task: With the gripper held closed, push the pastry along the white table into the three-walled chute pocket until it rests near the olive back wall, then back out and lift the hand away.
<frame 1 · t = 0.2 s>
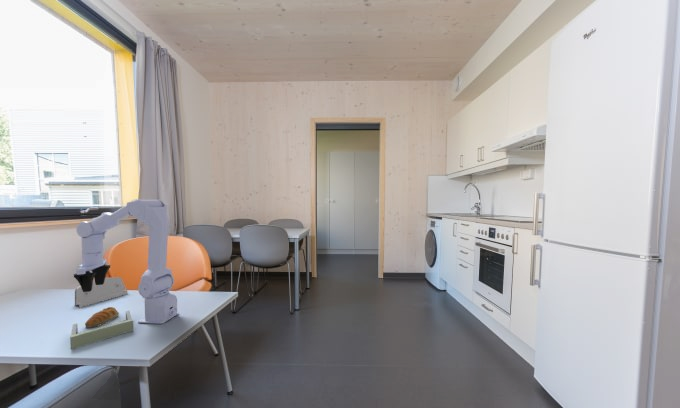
hand: (93, 287, 93), 10 cm above the table, tool pointing down, fingers open, 7 cm apart
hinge: (101, 299, 108), on the table
chute dock: (103, 330, 81), on the table
pastry: (102, 321, 88), on the table
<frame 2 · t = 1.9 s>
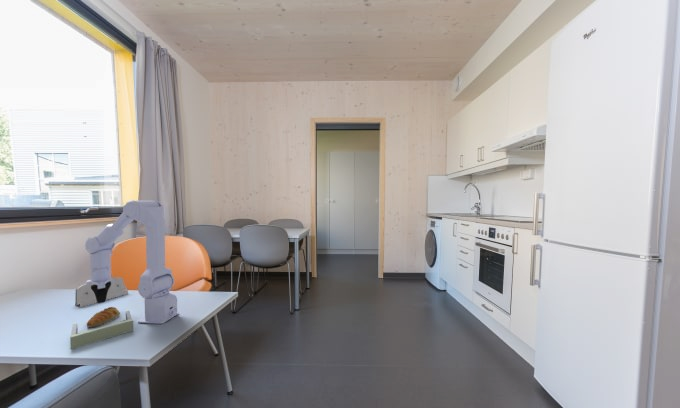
hand: (101, 302, 95), 4 cm above the table, tool pointing down, fingers closed
nothing on the table moved.
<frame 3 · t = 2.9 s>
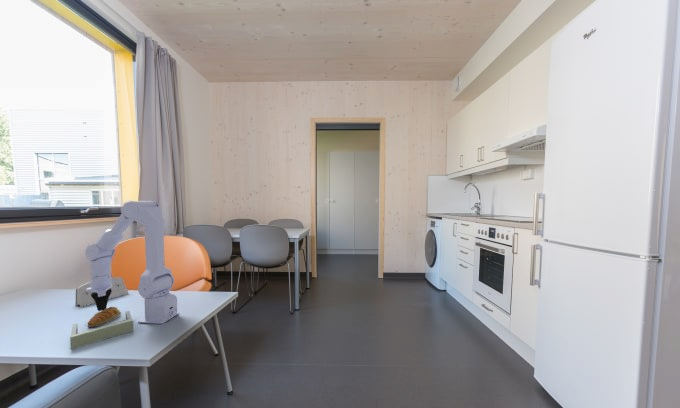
hand: (101, 309, 94), 1 cm above the table, tool pointing down, fingers closed
nothing on the table moved.
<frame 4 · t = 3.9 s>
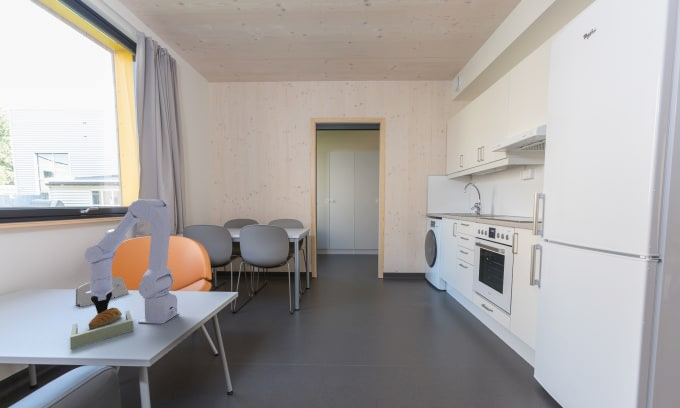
hand: (102, 314, 90), 1 cm above the table, tool pointing down, fingers closed
pastry: (105, 322, 87), on the table, touching gripper
everything else where it was.
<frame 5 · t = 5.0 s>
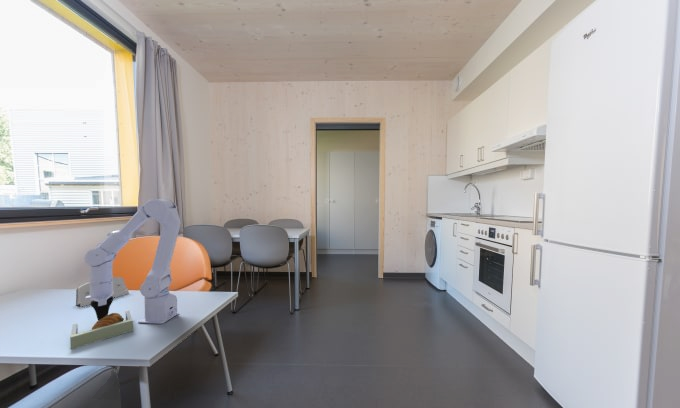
hand: (102, 319, 86), 1 cm above the table, tool pointing down, fingers closed
pastry: (107, 328, 83), on the table, touching gripper
everything else where it was.
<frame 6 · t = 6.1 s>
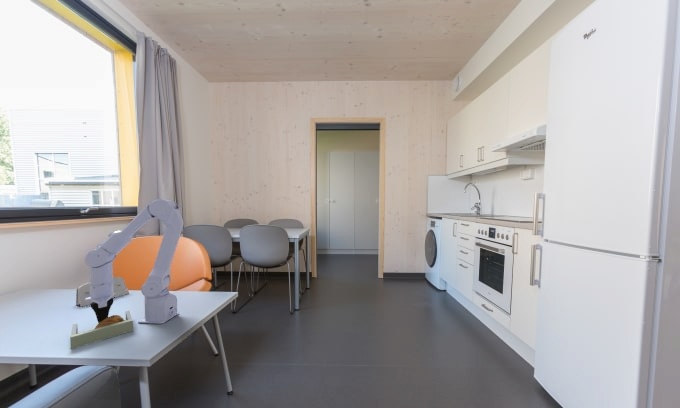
hand: (102, 321, 85), 1 cm above the table, tool pointing down, fingers closed
pastry: (108, 331, 82), on the table
everything else where it was.
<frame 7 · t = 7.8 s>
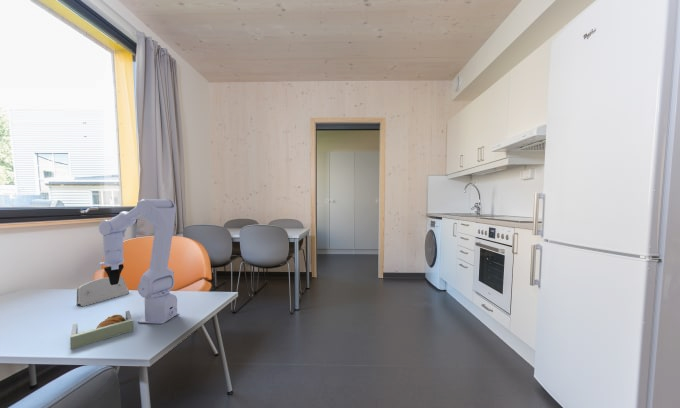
hand: (114, 284, 96), 10 cm above the table, tool pointing down, fingers closed
nothing on the table moved.
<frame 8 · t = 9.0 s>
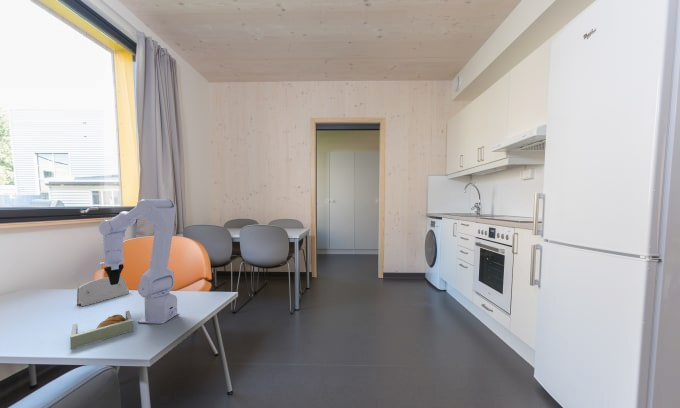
hand: (114, 284, 96), 10 cm above the table, tool pointing down, fingers closed
nothing on the table moved.
at the end: pastry 2.0 cm from the chute dock (horizontally); pastry moved 10.5 cm from its start; pastry on the table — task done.
